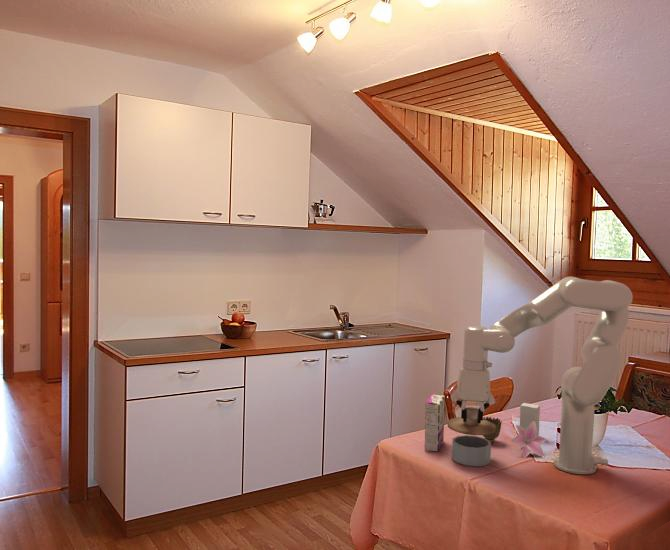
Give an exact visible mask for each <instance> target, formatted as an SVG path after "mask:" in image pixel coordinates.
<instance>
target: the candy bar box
mask: <svg viewBox="0 0 670 550" xmlns="http://www.w3.org/2000/svg"><path fill="white" fill-rule="evenodd" d="M445 399H446V397H445V395H440V394H435V393H434V394H431V395H430V396H429V397H428V399H427V400H426V402H425V414H424V415H425V418H424V419H425V422H424V423H425V425H424V451H427V450H429V452H435V451H437V452H436V453H439V451H440V449H441V447H442V445H443V443H444V440H445V439H444V438H445V437H444V434H445V433H444V431H445V402H446V401H445Z"/></svg>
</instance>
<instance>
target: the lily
mask: <svg viewBox="0 0 670 550" xmlns="http://www.w3.org/2000/svg"><path fill="white" fill-rule="evenodd" d="M515 428H516V430H517V433H518V435H516V436H515V437H513V438H511V440H510V443H511V444H514V445H516V446H519V447H521V448H520V450H521V451H522V455H523V458H524V459H526V458H527V457H528V456H529V455H530V454H531V452H532V453H534V454H535V455H537V456H539V457H540V456H544V457H545V453H544V451H543V448H542V446H541V444H543V443H544V442H546V440H547V439H546V438H545V437H543V436H541V435H539V436H537V427H536V424H535V422H532V423H531V424H530V425H529V426H528V427H527V429H526V430H525V429H523V428H522V427H520V425H518V424H515Z"/></svg>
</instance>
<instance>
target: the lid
mask: <svg viewBox="0 0 670 550" xmlns="http://www.w3.org/2000/svg"><path fill="white" fill-rule="evenodd" d="M478 415H479V408H477V407H472V406H469V407H468V406H467V407H466V422H463V419H461V416H460V417H459V416H458V417H453V418H450V419H448V421H447V427H448V429H450V430H451V431H453V432H456V433H459V434H463V435H470V436H482V435H489V434H492V433H494V432H495V431H496V426H495V425H494V424H493V423H491V422H489V421H486V420H483V421H482V420H481V423H480V424H479V423H478Z"/></svg>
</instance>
